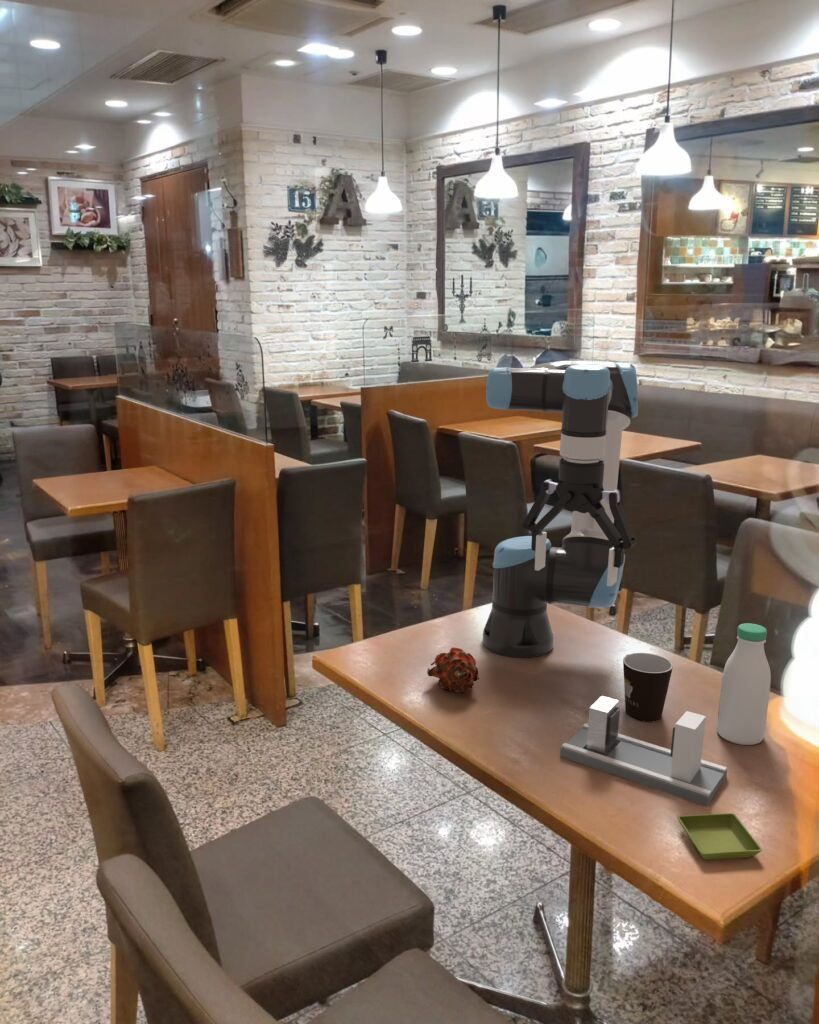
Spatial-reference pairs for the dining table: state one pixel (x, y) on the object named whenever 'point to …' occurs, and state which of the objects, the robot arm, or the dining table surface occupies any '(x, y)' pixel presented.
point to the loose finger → (603, 725)
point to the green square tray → (719, 836)
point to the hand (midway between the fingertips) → (574, 576)
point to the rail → (658, 761)
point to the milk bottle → (745, 688)
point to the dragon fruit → (455, 670)
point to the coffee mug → (646, 685)
